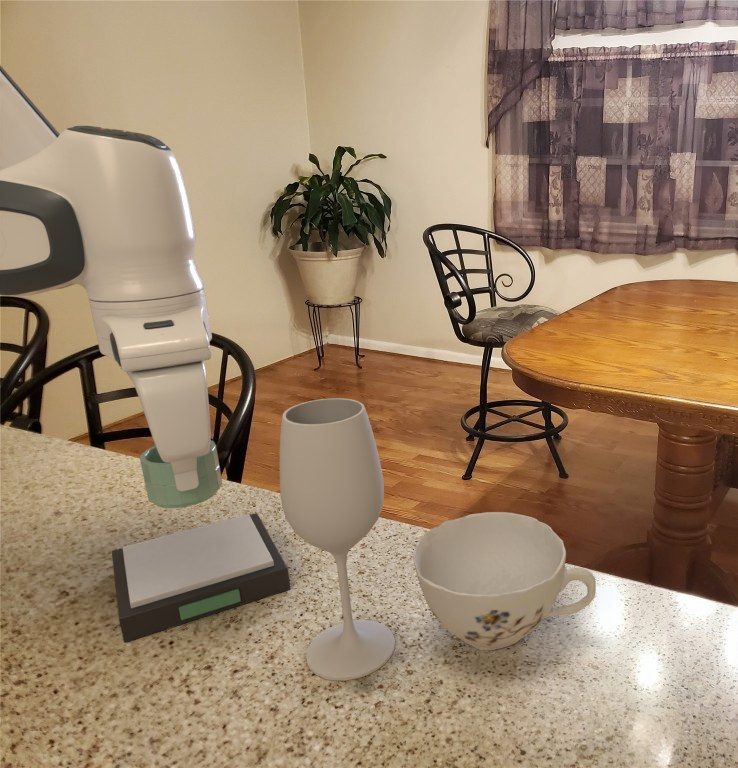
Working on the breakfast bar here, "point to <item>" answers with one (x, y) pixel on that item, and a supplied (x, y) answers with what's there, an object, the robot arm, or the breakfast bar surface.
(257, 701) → the breakfast bar surface
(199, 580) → the scale
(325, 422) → the wineglass
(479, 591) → the teacup
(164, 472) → the bowl
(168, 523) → the breakfast bar surface
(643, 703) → the breakfast bar surface
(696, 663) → the breakfast bar surface
